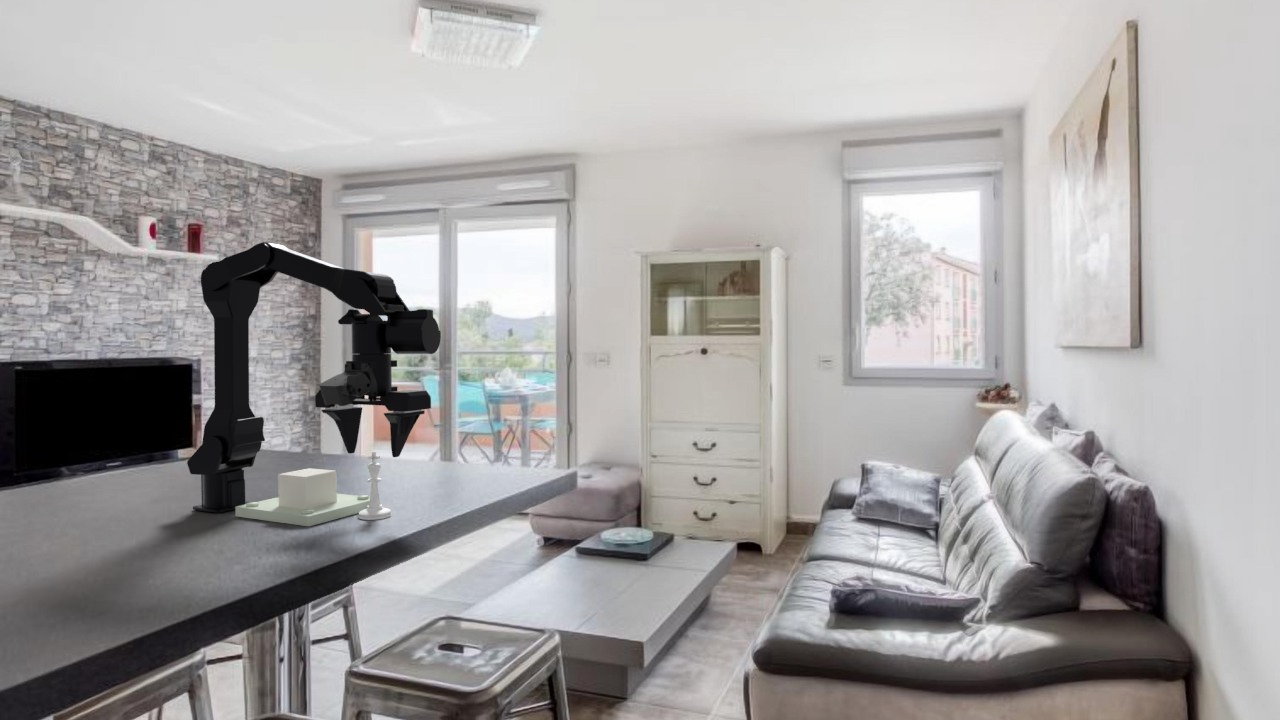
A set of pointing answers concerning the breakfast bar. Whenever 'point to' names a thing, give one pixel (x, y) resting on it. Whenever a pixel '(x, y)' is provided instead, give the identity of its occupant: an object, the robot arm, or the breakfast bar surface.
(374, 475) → the chess piece
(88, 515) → the breakfast bar surface
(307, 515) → the baseplate
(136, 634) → the breakfast bar surface
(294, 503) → the brick
